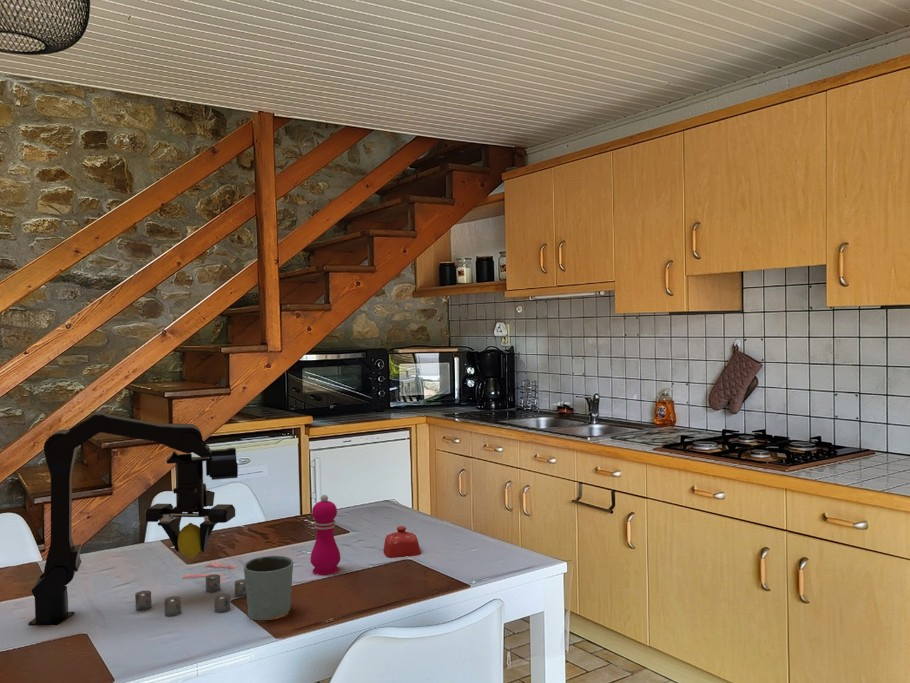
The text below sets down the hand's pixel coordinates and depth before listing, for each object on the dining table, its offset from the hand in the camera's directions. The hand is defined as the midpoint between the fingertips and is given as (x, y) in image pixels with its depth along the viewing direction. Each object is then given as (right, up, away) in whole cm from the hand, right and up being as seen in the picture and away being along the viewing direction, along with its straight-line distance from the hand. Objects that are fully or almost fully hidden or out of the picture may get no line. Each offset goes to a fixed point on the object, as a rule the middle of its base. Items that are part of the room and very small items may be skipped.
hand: (191, 551), depth 169 cm
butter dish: (+45, -11, +30) cm, 55 cm away
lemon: (0, -2, 0) cm, 2 cm away
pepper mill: (+27, -11, +17) cm, 34 cm away
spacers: (+1, -12, -1) cm, 12 cm away
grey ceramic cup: (+20, -12, -10) cm, 25 cm away
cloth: (-1, -12, +20) cm, 23 cm away
